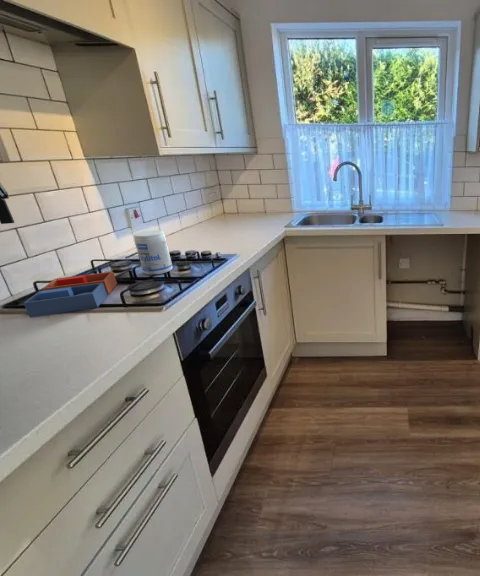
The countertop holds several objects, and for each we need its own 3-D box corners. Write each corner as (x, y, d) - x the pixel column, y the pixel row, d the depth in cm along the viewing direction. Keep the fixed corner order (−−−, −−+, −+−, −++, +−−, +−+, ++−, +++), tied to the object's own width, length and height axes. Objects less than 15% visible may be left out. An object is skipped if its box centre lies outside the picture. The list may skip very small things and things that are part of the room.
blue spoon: (42, 311, 104) (35, 295, 102) (50, 304, 109) (44, 289, 107) (92, 304, 108) (86, 288, 106) (98, 297, 113) (93, 282, 111)
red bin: (47, 302, 112) (41, 288, 110) (60, 291, 119) (55, 278, 118) (109, 293, 117) (104, 280, 115) (117, 283, 125) (113, 271, 123)
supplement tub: (142, 277, 130) (130, 237, 124) (145, 269, 137) (134, 231, 132) (173, 272, 133) (162, 233, 128) (174, 265, 141) (164, 228, 136)
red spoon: (59, 296, 114) (53, 282, 112) (66, 290, 118) (60, 276, 116) (105, 290, 118) (100, 276, 116) (110, 285, 122) (105, 271, 120)
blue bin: (29, 317, 102) (23, 303, 100) (44, 304, 110) (39, 291, 108) (97, 307, 107) (92, 293, 105) (107, 295, 115) (102, 282, 113)
